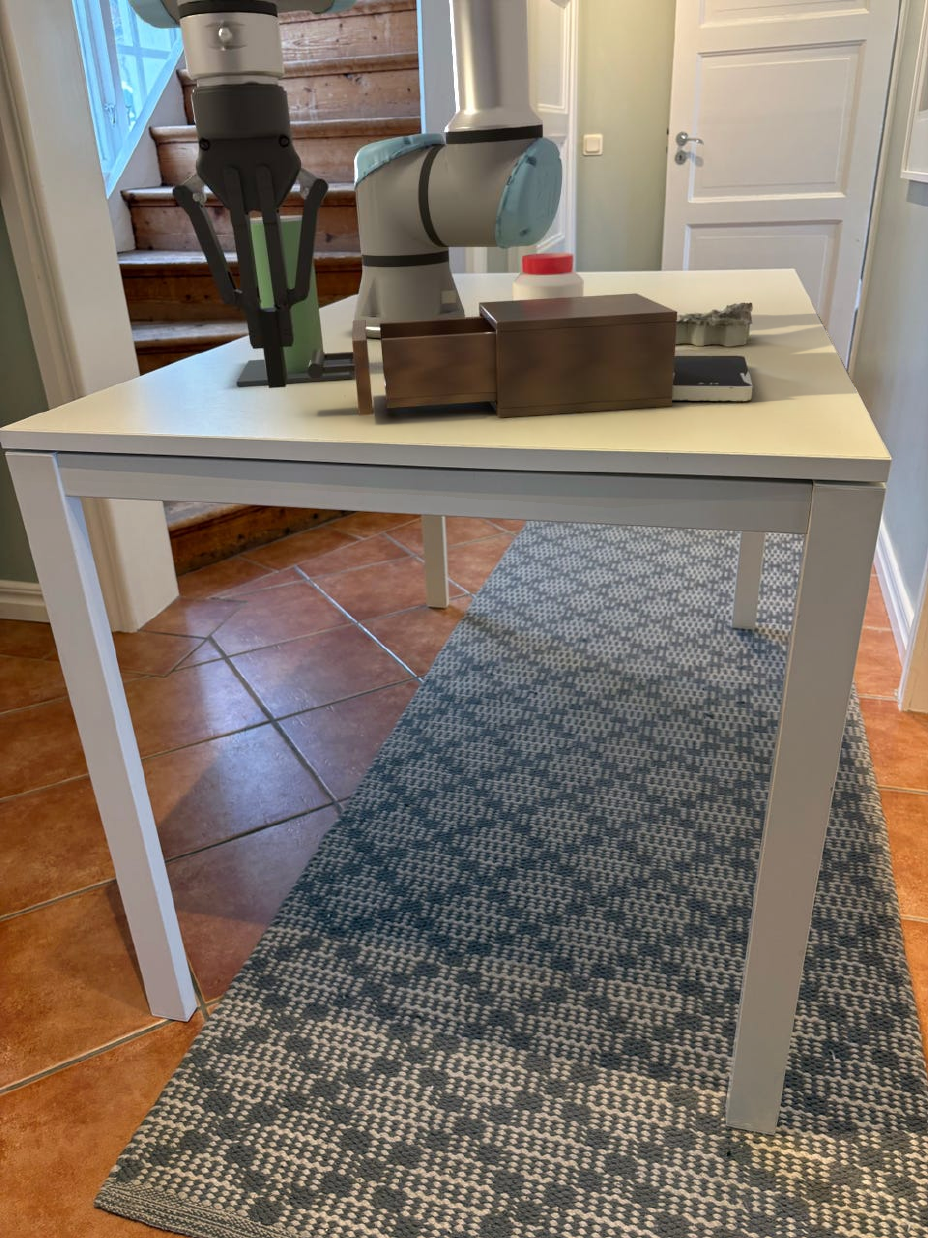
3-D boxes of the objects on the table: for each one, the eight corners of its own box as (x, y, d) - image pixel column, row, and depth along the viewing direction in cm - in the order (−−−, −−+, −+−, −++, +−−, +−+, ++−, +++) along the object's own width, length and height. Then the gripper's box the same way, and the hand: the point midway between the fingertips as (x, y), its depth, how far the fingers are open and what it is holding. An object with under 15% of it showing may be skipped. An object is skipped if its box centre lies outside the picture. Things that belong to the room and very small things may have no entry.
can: (268, 363, 103) (248, 217, 96) (326, 359, 104) (310, 214, 97) (263, 375, 97) (241, 220, 90) (324, 371, 98) (307, 217, 91)
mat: (249, 364, 106) (248, 360, 106) (351, 358, 107) (350, 353, 106) (236, 386, 95) (236, 381, 95) (350, 379, 96) (349, 374, 96)
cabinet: (498, 417, 79) (496, 322, 75) (481, 386, 90) (478, 302, 86) (671, 406, 80) (677, 311, 76) (633, 376, 91) (636, 293, 88)
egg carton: (753, 337, 108) (757, 301, 106) (743, 348, 102) (747, 311, 100) (665, 333, 112) (668, 299, 110) (651, 344, 106) (653, 308, 104)
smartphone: (744, 355, 92) (753, 387, 79) (742, 368, 93) (751, 402, 80) (668, 355, 94) (665, 386, 81) (667, 368, 95) (664, 401, 82)
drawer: (310, 418, 78) (301, 343, 75) (316, 389, 88) (308, 322, 85) (523, 404, 79) (522, 330, 76) (504, 377, 89) (503, 311, 87)
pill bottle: (579, 368, 96) (581, 258, 91) (508, 368, 98) (506, 259, 93) (585, 354, 103) (587, 250, 98) (518, 354, 104) (517, 252, 99)
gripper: (144, 83, 67) (199, 398, 78) (318, 76, 68) (349, 388, 79) (163, 91, 74) (212, 380, 85) (322, 84, 75) (350, 371, 86)
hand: (278, 383), depth 82 cm, fingers closed
